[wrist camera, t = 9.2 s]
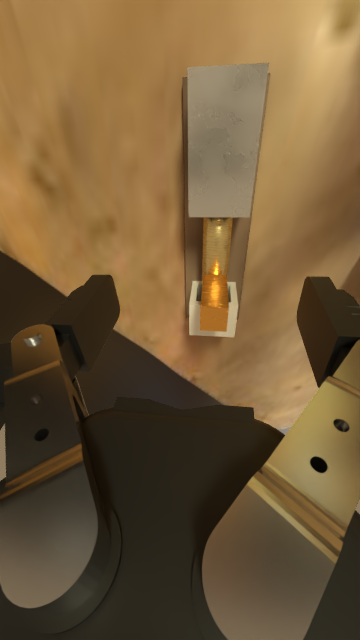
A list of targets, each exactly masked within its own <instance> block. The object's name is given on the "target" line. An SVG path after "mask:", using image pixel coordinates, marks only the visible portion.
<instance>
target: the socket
mask: <svg viewBox="0 0 360 640" xmlns="http://www.w3.org/2000/svg"><path fill="white" fill-rule="evenodd" d="M227 285H228V302H229V312H228V322H227V332H222V331H202V330H200V305H201V294H202V281H193V282H192V289H191V295H190V302H189V335H200V336H219V337H234V336H235V328H236V320H237V312H238V300H237V290H236V282H227Z"/></svg>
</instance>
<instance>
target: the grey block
mask: <svg viewBox="0 0 360 640" xmlns="http://www.w3.org/2000/svg"><path fill="white" fill-rule="evenodd" d="M268 68H269V63H259V64H240V65H222V66H203V67H187V70H188V211H189V217H245V218H249V217H250V209H251V202H252V194H253V186H254V178H255V170H256V162H257V154H258V146H259V139H260V131H261V123H262V115H263V107H264V99H265V91H266V83H267V75H268Z"/></svg>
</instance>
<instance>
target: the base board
mask: <svg viewBox="0 0 360 640" xmlns="http://www.w3.org/2000/svg"><path fill="white" fill-rule="evenodd" d="M269 79H270V73H268V75H267V83H266V91H265V99H264V107H263V115H262V123H261V131H260V139H259V146H258V154H257V162H256V170H255V178H254V186H253V194H252V202H251V209H250V217H249V218H245V217H233V221H232V232H231V243H230V254H229V265H228V276H227V282H236V290H237V300H238V312H237V320H238V316H239V308H240V300H241V293H242V285H243V278H244V270H245V262H246V255H247V247H248V239H249V232H250V224H251V216H252V209H253V201H254V194H255V186H256V178H257V171H258V163H259V155H260V148H261V140H262V132H263V125H264V117H265V110H266V102H267V94H268V87H269ZM183 138H184V203H185V267H186V317H189V302H190V295H191V289H192V282H193V281H202V257H203V218H204V217H189V211H188V77H183Z"/></svg>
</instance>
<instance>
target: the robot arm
mask: <svg viewBox="0 0 360 640" xmlns="http://www.w3.org/2000/svg"><path fill="white" fill-rule="evenodd" d="M119 314H120V305H119V301H118V297H117V293H116V289H115V285H114V281H113V278H112V276H111V275H92V276H91V277H90V278H89V279H88V281H87V282H86V283H85V284H84V286H80V287H79V288H77V289H76V290H74V291H73V292H71V294H70V295H69V296H68V297H67V298H66V300H65V301H64V302H63V303H62V304H61V306H59V308H58V309H57V310H56V311H55V312H54V313H53V315H52V316H51V317H50V318H49V319H48V320H47V322H46V323H45V324H44V325H35V326H31V327H29V328H27V329H24V330H23V331H21V332H19V333H18V334H17V335H16V336H15V337H14V338H13V340H12V342H10V343H5V344H0V430H1V428H2V426H3V425H4V424H5V447H6V448H5V449H6V450H5V451H6V477H5V478H4V479H3V480H1V481H0V640H360V514H359V513H357V511H356V510H355V509H356V507H357V504H358V502H359V500H360V308H359V304H358V303H357V302H356V300H355V299H354V297H353V296H351V295H350V294H348V293H347V292H345V291H344V290H337V289H336V287H335V286H334V284H333V282H332V281H331V279H330V278H329V277H307V278H306V279H305V282H304V285H303V289H302V294H301V298H300V302H299V306H298V310H297V324H298V327H299V330H300V333H301V336H302V339H303V343H304V346H305V349H306V352H307V355H308V358H309V361H310V364H311V367H312V370H313V373H314V376H315V379H316V382H317V386H318V388H319V389H318V391H317V392H316V394H315V395H314V396H313V398H312V399H311V401H310V402H309V403H308V405H307V406H306V407H305V409H304V410H303V412H302V413H301V414H300V416H299V417H298V419H297V420H296V421H295V423H294V424H293V426H292V427H291V428H290V430H289V431H288V433H287V434H286V435H284V434H283V433H281V432H280V431H279V430H277V429H276V428H274V427H272V426H270V425H269V424H266V423H264V422H262V421H259V420H256V419H254V410H253V408H251V407H238V406H226V405H214V406H207V407H200V408H193V409H187V410H180V409H176V408H173V407H170V406H167V405H164V404H161V403H158V402H155V401H152V400H149V399H138V398H125V397H117V400H116V402H115V405H114V407H112V408H108V409H104V410H101V411H98V412H96V413H94V414H91V415H88V412H87V409H86V406H85V403H84V400H83V397H82V393H81V390H80V387H79V384H78V381H77V379H76V377H75V376H76V374H77V372H78V371H86V372H90V371H91V369H92V367H93V365H94V363H95V361H96V359H97V357H98V356H99V354H100V352H101V350H102V348H103V346H104V344H105V342H106V340H107V339H108V337H109V335H110V333H111V331H112V329H113V327H114V325H115V324H116V322H117V320H118V318H119Z"/></svg>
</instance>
